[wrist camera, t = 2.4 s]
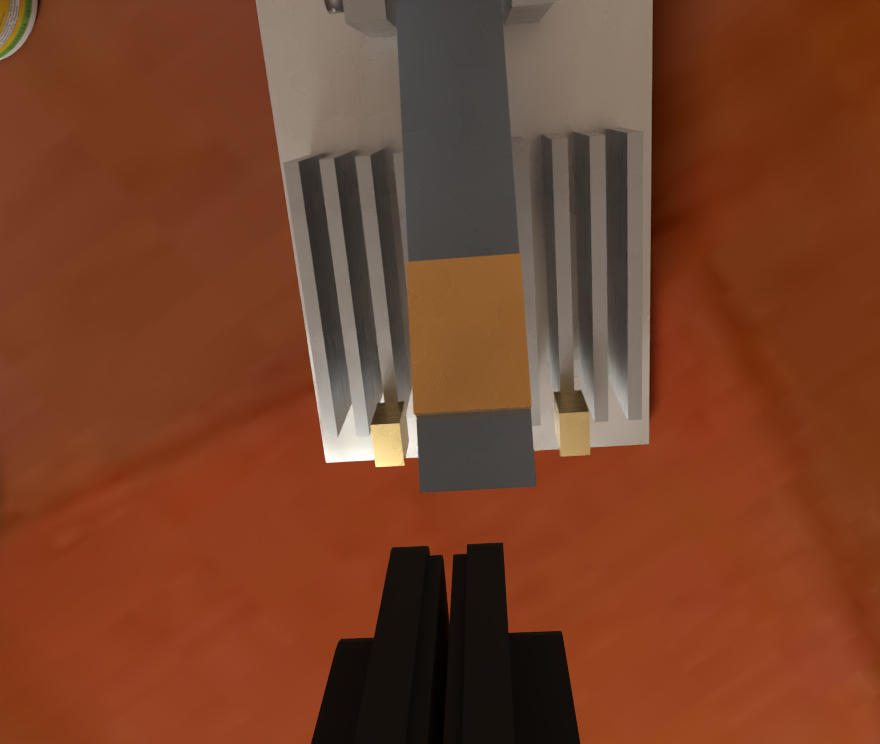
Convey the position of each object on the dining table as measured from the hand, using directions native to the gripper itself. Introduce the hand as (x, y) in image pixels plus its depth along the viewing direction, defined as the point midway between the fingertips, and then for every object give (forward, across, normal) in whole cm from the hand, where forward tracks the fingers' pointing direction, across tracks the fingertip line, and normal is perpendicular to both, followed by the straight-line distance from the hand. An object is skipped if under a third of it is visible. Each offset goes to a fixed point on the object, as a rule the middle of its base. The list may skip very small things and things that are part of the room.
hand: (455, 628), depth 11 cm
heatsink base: (+21, 0, -3) cm, 22 cm away
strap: (+13, 0, -5) cm, 14 cm away
